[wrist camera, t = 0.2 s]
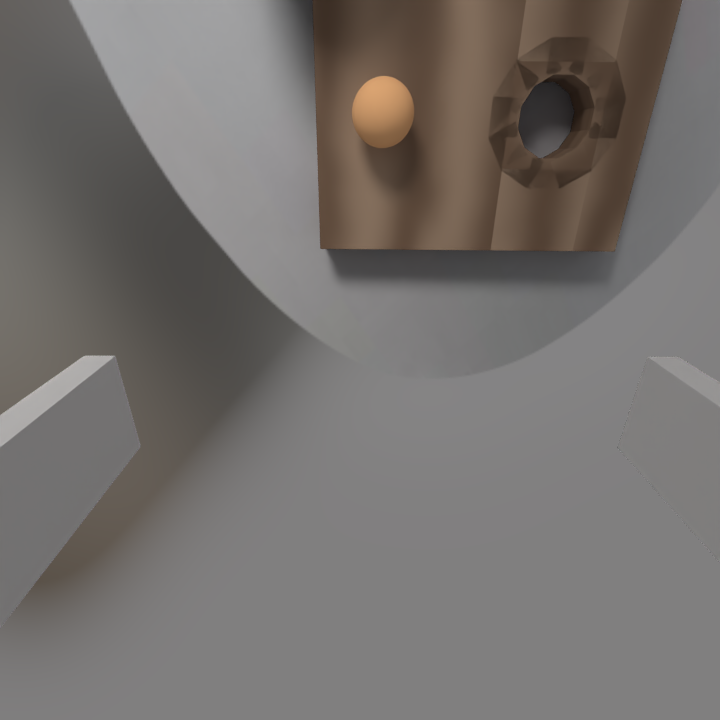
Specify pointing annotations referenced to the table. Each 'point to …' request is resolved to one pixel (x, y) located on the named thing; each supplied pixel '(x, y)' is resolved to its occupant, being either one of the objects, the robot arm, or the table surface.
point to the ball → (383, 112)
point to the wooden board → (485, 120)
